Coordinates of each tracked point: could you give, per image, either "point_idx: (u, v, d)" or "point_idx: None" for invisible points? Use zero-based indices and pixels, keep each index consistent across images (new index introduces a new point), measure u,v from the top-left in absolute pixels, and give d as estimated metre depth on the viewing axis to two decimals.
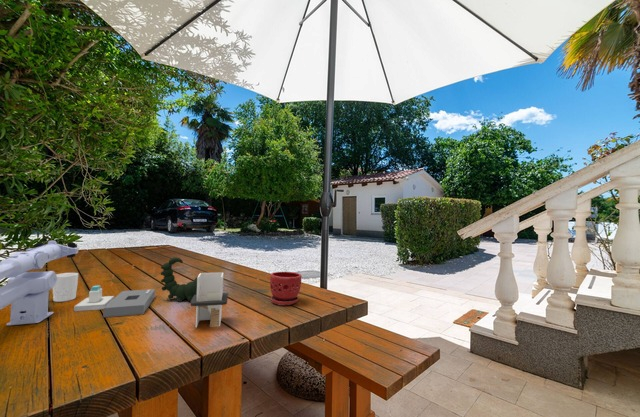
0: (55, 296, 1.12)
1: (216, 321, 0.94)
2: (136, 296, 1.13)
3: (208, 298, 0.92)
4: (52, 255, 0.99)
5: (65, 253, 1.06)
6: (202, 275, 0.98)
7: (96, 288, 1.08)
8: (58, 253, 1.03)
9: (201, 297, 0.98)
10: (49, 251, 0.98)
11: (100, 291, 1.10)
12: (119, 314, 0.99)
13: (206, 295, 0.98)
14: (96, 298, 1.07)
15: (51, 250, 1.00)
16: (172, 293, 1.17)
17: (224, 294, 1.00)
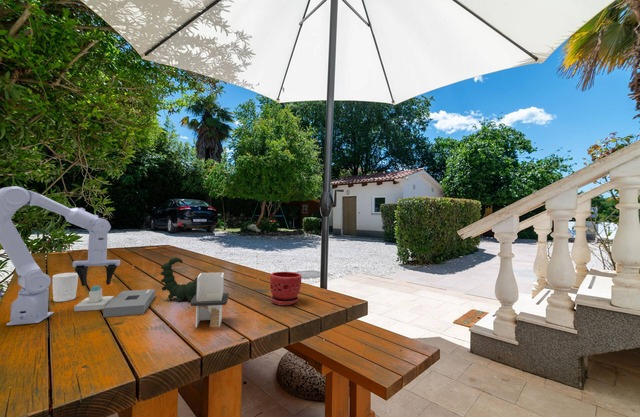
0: (55, 296, 1.12)
1: (216, 321, 0.94)
2: (136, 296, 1.13)
3: (208, 298, 0.92)
4: (100, 245, 1.07)
5: None
6: (203, 275, 0.98)
7: (96, 288, 1.08)
8: (105, 255, 1.10)
9: (202, 297, 0.98)
10: (105, 242, 1.09)
11: (100, 291, 1.10)
12: (119, 314, 0.99)
13: (207, 295, 0.98)
14: (96, 298, 1.07)
15: (105, 246, 1.09)
16: (172, 293, 1.17)
17: (225, 294, 1.00)
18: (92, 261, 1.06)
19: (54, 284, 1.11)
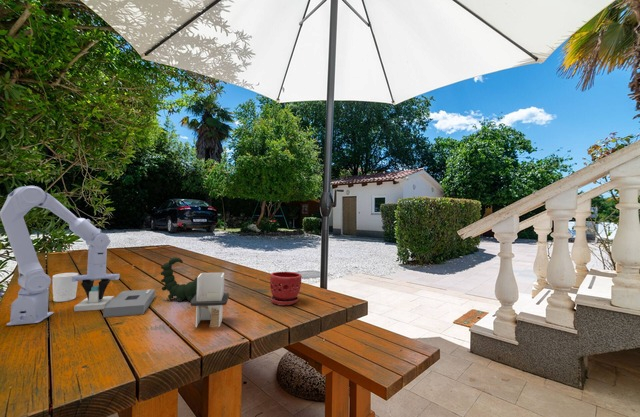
0: (55, 296, 1.12)
1: (216, 321, 0.94)
2: (136, 296, 1.13)
3: (208, 298, 0.92)
4: (99, 260, 1.07)
5: None
6: (203, 275, 0.98)
7: (96, 288, 1.08)
8: (105, 270, 1.10)
9: (202, 297, 0.98)
10: (104, 257, 1.09)
11: None
12: (119, 314, 0.99)
13: (207, 295, 0.98)
14: (96, 298, 1.07)
15: (104, 260, 1.09)
16: (172, 293, 1.17)
17: (225, 294, 1.00)
18: (91, 276, 1.06)
19: (54, 284, 1.11)
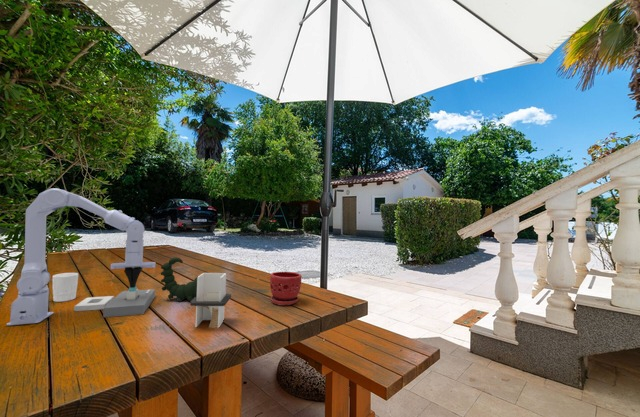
0: (55, 296, 1.12)
1: (216, 322, 0.93)
2: None
3: (207, 298, 0.92)
4: (134, 248, 1.08)
5: None
6: (205, 275, 0.98)
7: (133, 289, 1.08)
8: (142, 258, 1.11)
9: (204, 297, 0.98)
10: (139, 245, 1.09)
11: (137, 291, 1.10)
12: (119, 314, 0.99)
13: None
14: (133, 298, 1.08)
15: (139, 249, 1.09)
16: (172, 293, 1.17)
17: (227, 295, 0.99)
18: (130, 263, 1.07)
19: (54, 284, 1.11)
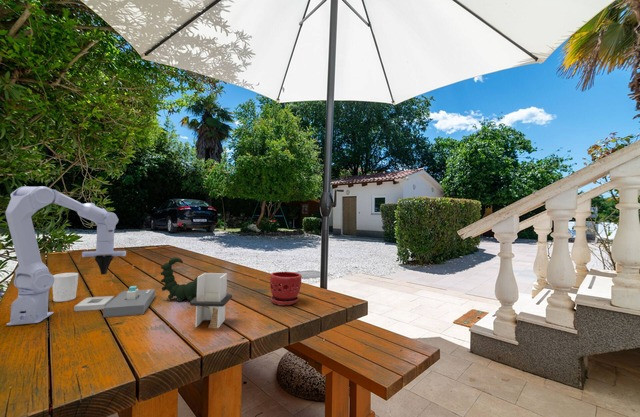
0: (55, 296, 1.12)
1: (216, 322, 0.93)
2: None
3: (207, 299, 0.92)
4: (110, 237, 1.16)
5: None
6: (206, 275, 0.98)
7: (133, 289, 1.09)
8: (112, 246, 1.17)
9: (205, 297, 0.98)
10: (113, 234, 1.17)
11: (137, 292, 1.10)
12: (119, 314, 0.99)
13: None
14: (133, 298, 1.08)
15: (113, 237, 1.17)
16: (172, 293, 1.17)
17: (227, 295, 0.99)
18: (100, 251, 1.14)
19: (54, 284, 1.11)
